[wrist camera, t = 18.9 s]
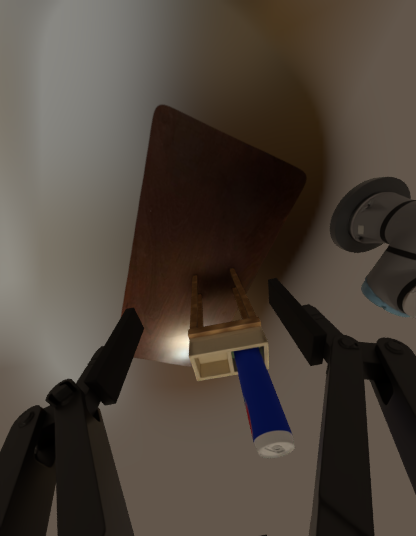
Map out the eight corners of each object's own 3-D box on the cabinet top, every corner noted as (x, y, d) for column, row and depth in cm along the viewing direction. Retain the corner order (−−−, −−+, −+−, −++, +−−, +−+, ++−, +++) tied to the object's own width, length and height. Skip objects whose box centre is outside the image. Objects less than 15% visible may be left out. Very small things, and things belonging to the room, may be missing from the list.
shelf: (234, 267, 56) (260, 321, 33) (237, 291, 61) (262, 354, 37) (191, 275, 57) (187, 335, 33) (197, 298, 61) (197, 365, 38)
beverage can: (227, 347, 34) (248, 452, 20) (248, 334, 33) (285, 437, 19) (241, 358, 36) (269, 462, 22) (261, 347, 34) (303, 449, 21)
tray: (260, 325, 33) (268, 342, 30) (261, 351, 37) (269, 368, 33) (189, 338, 34) (188, 356, 30) (197, 362, 37) (197, 381, 33)
